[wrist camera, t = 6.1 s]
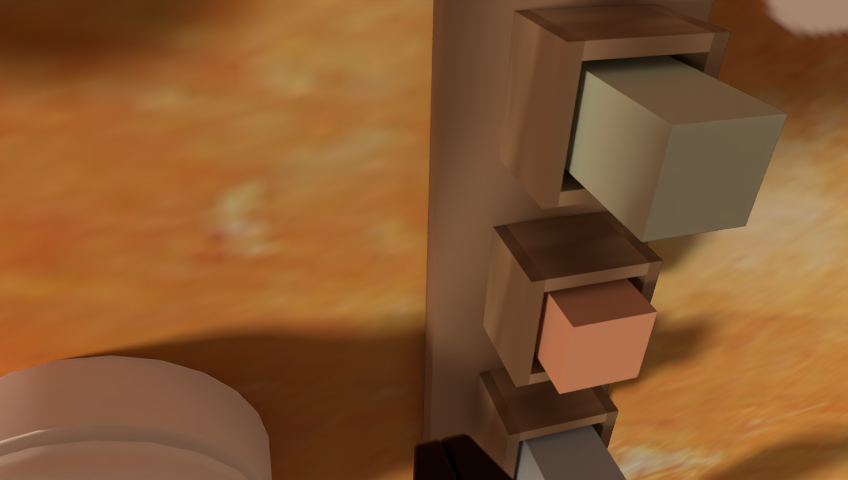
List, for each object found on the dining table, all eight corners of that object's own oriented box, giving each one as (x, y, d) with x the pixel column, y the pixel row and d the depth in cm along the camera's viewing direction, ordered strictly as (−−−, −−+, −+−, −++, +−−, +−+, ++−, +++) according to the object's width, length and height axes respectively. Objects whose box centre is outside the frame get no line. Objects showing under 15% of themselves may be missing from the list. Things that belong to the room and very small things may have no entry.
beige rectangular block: (662, 52, 17) (788, 113, 13) (639, 147, 19) (745, 225, 15) (568, 59, 16) (673, 125, 13) (553, 157, 18) (641, 242, 14)
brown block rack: (711, -95, 19) (832, -80, 15) (580, 429, 32) (626, 504, 29) (435, -94, 16) (497, -76, 13) (422, 466, 30) (449, 552, 27)
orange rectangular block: (585, 233, 23) (657, 311, 19) (573, 293, 25) (637, 377, 21) (513, 243, 22) (573, 327, 18) (505, 305, 24) (559, 394, 20)
